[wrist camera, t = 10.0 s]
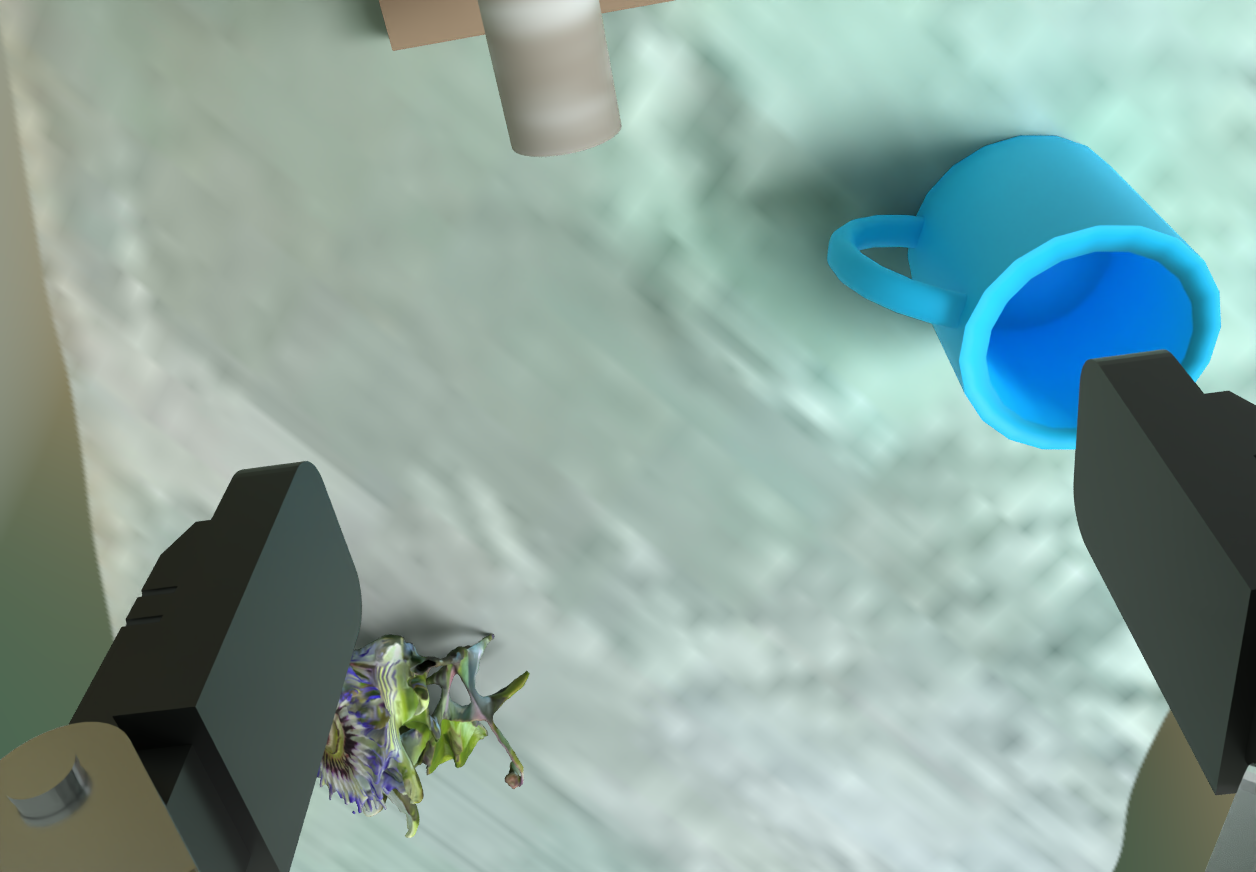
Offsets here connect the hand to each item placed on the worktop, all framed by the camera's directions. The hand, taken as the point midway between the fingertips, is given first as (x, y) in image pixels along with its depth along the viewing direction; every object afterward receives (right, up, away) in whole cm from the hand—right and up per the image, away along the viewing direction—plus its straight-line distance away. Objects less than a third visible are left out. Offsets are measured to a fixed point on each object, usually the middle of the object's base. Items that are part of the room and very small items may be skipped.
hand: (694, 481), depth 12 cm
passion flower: (-11, -9, +43) cm, 45 cm away
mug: (+12, +8, +31) cm, 35 cm away
